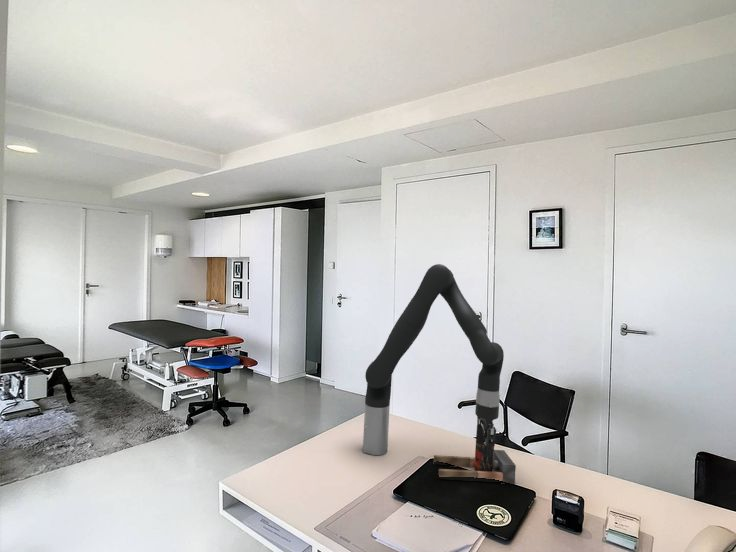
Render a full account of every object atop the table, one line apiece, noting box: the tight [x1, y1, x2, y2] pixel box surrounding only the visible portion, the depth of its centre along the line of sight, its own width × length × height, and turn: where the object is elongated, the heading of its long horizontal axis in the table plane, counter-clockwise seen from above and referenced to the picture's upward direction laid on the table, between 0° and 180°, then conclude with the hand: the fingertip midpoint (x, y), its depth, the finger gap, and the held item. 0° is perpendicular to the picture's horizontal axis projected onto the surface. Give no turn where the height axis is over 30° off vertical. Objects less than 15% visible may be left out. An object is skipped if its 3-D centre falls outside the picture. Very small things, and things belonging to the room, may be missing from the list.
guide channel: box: [433, 449, 517, 485], centre depth 133 cm, size 24×11×6 cm, turn 89°
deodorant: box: [473, 424, 496, 472], centre depth 133 cm, size 6×6×15 cm
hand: (484, 451), depth 133 cm, fingers closed on deodorant, 6 cm apart
